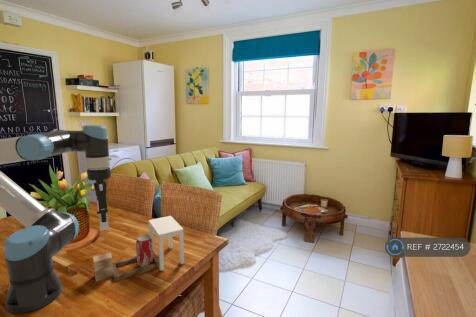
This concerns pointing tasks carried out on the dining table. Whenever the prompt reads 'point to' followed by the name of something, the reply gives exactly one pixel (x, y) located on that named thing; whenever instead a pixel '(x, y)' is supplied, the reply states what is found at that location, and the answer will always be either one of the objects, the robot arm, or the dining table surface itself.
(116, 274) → the pull frame
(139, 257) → the beverage can
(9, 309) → the robot arm
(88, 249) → the dining table surface
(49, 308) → the dining table surface
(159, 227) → the white stool
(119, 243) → the dining table surface
